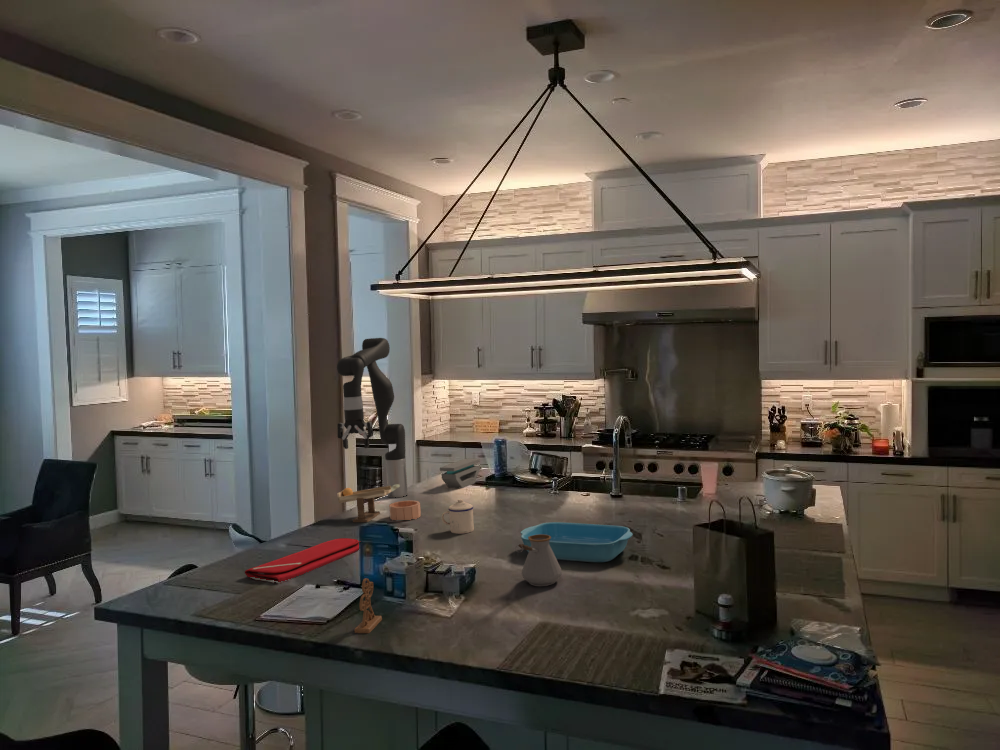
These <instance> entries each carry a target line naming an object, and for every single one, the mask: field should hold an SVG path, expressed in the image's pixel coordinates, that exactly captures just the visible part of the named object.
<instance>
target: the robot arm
mask: <svg viewBox="0 0 1000 750" xmlns="http://www.w3.org/2000/svg"><path fill="white" fill-rule="evenodd" d="M389 355H390V343H389V341H388V339H387V338H384V337H373V338H371V337H370V338H365V339H363V341H362V344H361V350H358V351H356V352H355V353H354V354H351V355H348V356H345V357H342V358H340V359H339V360H338V361H337V364H336V371H337V374H339V375H340V376H343V377H352V376H353V378H352V380H350V381H347V382H344V383H343V385H342V389H343V390H342V391H343V414H344V422H343V423H342V422H339V423H337V439H341V440H342V447H343V448H344V449H345V450H347V449H348V450H349V438H348V437H349V436H350V434H351V435H352V434H360V435H361V436H362V437H363V443H364V444H363V445H364V449H368V448H369V447H370V438H372V437H373V436H374V429H373V422H372V421H368V422H367V421H366V422H365V419H364V418H365V417H364V415H365V414H364V402H363V397H362V396H363V395H362V380H363V376H364V375H363V374H364V372H365V371H364V370H365V368H367V372H368V375H369V376H368V377H369V381H370V386H371V392H372V397H373V401H374V405H375V410H376V415H377V421H378V422H377V423H378V430H379V437H380V441H381V442H382V443H383V444H384V445H395V447H394V448H393V449H392V450H389V451H388V452H386V453H385V455H384V459H385V471H386V473H385V474H386V486H391V487H392V486H393V485H395V484H400V487H398V488H397V489H395V490H394V491H392V492H390V493H388V494H387V497H388V496H389V497H388V498H393V499H394V498H395V497H396V498H402V497H403V496H404V497H407V496H408V495H409V487H408V475H407V463H406V462H407V461H406V457H407V456H406V430H405V427H404V425H403V423H388V415H389V413H390V409H391V407H392V406H393V403H394V402H395V401H394V400H395V393H394V387H393V384H392V382H391V380H390V378H388V377H387V376H386V374H385V373H384V372H383V371H382V370H381V369H380V368H379V366H378V364H377V361H378V360H383V359H386V358H387V357H388V356H389ZM365 427H366V428H367V429H365ZM344 428H345V429H346V430H345V431H344ZM406 495H407V496H406Z"/></svg>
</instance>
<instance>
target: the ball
mask: <svg viewBox="0 0 1000 750" xmlns="http://www.w3.org/2000/svg"><path fill="white" fill-rule="evenodd" d="M342 491H343V495H344V496H348V495H352V494H353V492H354V491H353V489H352V488H350V487H345V488H344V489H343V490H342Z"/></svg>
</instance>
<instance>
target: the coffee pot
mask: <svg viewBox="0 0 1000 750" xmlns="http://www.w3.org/2000/svg"><path fill="white" fill-rule="evenodd" d="M528 539H529V540H530V542H531V547H529V546H527V545H524V543H523V544H521V543H520V544H518V545H516V546H515V548H514V550H515V551H516V552H517V553H519V551H518V550H517V547H519V548H520V549H521V551H520V553H522V552H523V551H524V550H525V551H527V550H529V553H528V552H527V556H526V558H525V561H524V564H523V566H522V567H523V568H522V570H521V575H522V577H523V580H525V581H526V582H527V583H528V584H529V585H531V586H535V587H547V586H551V585H554V584H555V583H556V582H557V581H558V580H559V579H560V578H561V575H562V573H563V571H562V570H563V569H562V568H561V565H560V563H559V562H558V559H556V557H555V555H554V553H553V551H552V549H551V547H550V545H549V541H550V539H551V536H549V535H544V534H539V535H532V536H529V537H528Z"/></svg>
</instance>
